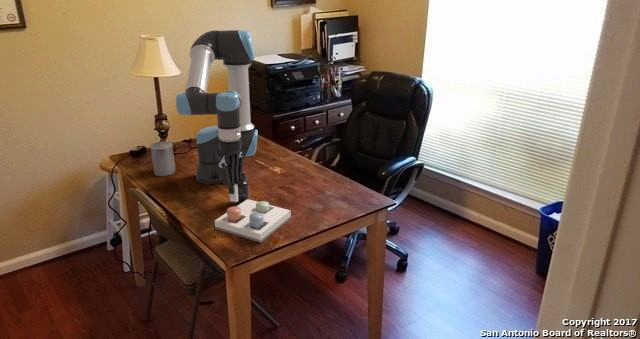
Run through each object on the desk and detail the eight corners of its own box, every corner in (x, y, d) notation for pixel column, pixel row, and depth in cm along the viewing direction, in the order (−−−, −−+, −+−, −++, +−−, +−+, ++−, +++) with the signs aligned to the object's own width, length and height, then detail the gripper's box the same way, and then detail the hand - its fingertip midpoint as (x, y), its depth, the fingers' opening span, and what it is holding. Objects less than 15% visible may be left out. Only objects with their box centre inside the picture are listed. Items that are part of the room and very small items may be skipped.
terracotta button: (224, 220, 170) (223, 210, 168) (233, 215, 174) (232, 205, 172) (235, 223, 167) (235, 214, 166) (244, 218, 172) (243, 208, 170)
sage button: (253, 214, 177) (253, 205, 175) (261, 209, 181) (260, 200, 180) (264, 217, 175) (264, 208, 173) (272, 212, 179) (271, 202, 177)
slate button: (247, 227, 165) (246, 217, 164) (255, 221, 169) (254, 211, 168) (258, 230, 163) (258, 220, 162) (266, 224, 167) (266, 214, 166)
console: (215, 228, 170) (214, 220, 168) (248, 206, 186) (247, 199, 185) (260, 242, 161) (260, 234, 160) (290, 218, 177) (290, 210, 176)
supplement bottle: (241, 207, 186) (240, 180, 181) (228, 203, 189) (226, 176, 184) (252, 201, 191) (251, 174, 186) (240, 197, 194) (238, 170, 190)
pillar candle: (164, 167, 224) (160, 137, 218) (180, 170, 220) (176, 140, 214) (149, 174, 216) (144, 144, 210) (165, 178, 212) (161, 147, 206)
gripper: (226, 145, 152) (231, 210, 161) (250, 134, 163) (253, 196, 172) (208, 142, 155) (214, 205, 164) (232, 131, 166) (236, 191, 175)
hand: (234, 200), depth 168 cm, fingers closed
